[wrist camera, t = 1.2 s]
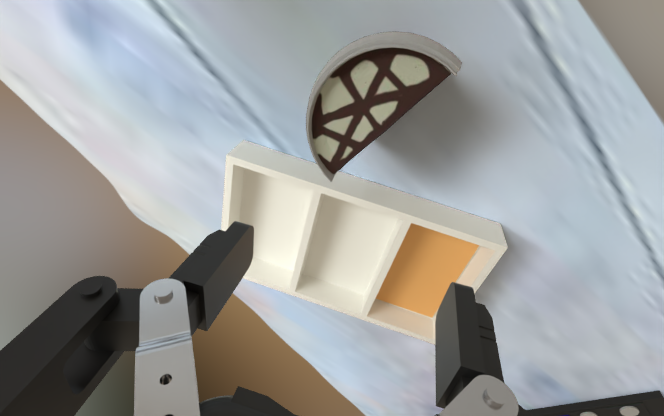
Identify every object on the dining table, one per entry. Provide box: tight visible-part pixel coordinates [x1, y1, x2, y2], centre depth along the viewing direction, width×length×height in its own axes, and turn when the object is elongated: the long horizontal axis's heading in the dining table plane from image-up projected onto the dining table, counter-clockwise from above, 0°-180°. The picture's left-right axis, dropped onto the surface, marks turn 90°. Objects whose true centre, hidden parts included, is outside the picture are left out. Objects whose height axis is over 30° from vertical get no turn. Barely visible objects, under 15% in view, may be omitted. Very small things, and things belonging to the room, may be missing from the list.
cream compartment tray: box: [221, 140, 508, 345], centre depth 40 cm, size 29×17×4 cm, turn 76°
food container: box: [306, 32, 462, 182], centre depth 27 cm, size 12×6×10 cm, turn 136°
